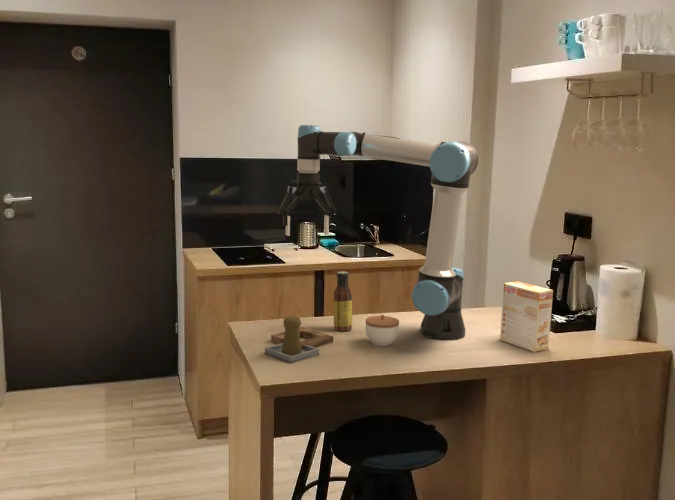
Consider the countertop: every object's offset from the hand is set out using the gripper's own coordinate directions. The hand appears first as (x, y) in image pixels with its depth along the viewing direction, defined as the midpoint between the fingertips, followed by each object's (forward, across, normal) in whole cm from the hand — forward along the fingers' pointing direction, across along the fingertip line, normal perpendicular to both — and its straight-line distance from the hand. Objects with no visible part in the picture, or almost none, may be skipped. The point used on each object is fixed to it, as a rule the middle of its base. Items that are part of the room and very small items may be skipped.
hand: (307, 234), depth 240 cm
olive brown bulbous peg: (+31, +13, +29) cm, 45 cm away
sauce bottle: (+32, -11, +8) cm, 35 cm away
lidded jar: (+32, -18, +26) cm, 45 cm away
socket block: (+32, +6, +18) cm, 37 cm away
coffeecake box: (+32, -63, +38) cm, 80 cm away
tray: (+32, +13, +29) cm, 45 cm away
